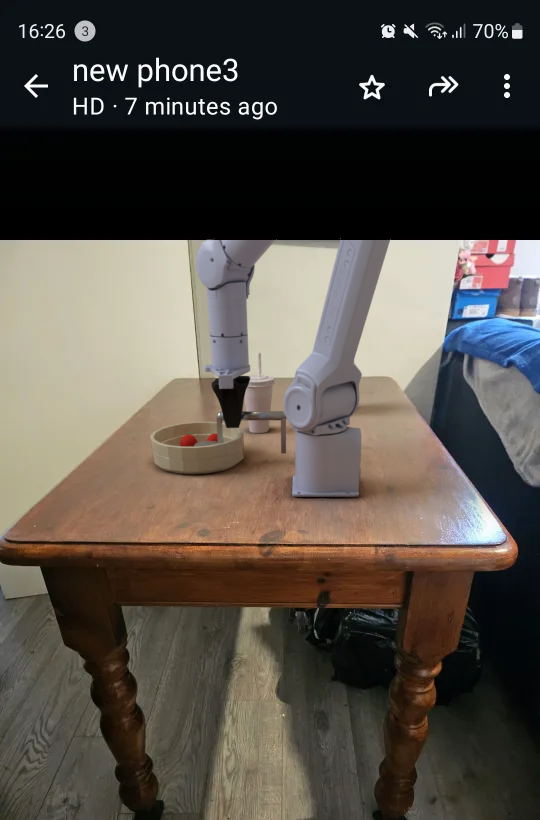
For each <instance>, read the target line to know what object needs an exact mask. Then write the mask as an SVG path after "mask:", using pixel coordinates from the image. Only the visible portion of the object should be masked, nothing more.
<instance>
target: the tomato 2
mask: <svg viewBox="0 0 540 820" xmlns="http://www.w3.org/2000/svg"><path fill="white" fill-rule="evenodd" d="M207 441H216V442H218V437H217V434H216V433H214V434H211V435H210V436H209V437H208V438H207ZM223 442H224V439H223Z"/></svg>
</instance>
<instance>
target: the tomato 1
mask: <svg viewBox="0 0 540 820" xmlns="http://www.w3.org/2000/svg"><path fill="white" fill-rule="evenodd" d="M196 443H198V442H197V439H196V438H195V437H194V436H193V435H185V436H183V437H182V438H181V441H180V446H182V447H194V445H195V444H196Z"/></svg>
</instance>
